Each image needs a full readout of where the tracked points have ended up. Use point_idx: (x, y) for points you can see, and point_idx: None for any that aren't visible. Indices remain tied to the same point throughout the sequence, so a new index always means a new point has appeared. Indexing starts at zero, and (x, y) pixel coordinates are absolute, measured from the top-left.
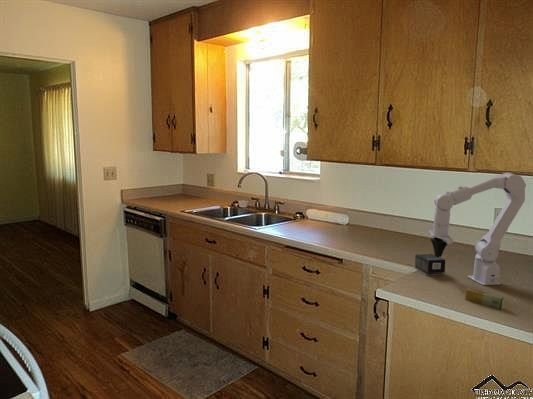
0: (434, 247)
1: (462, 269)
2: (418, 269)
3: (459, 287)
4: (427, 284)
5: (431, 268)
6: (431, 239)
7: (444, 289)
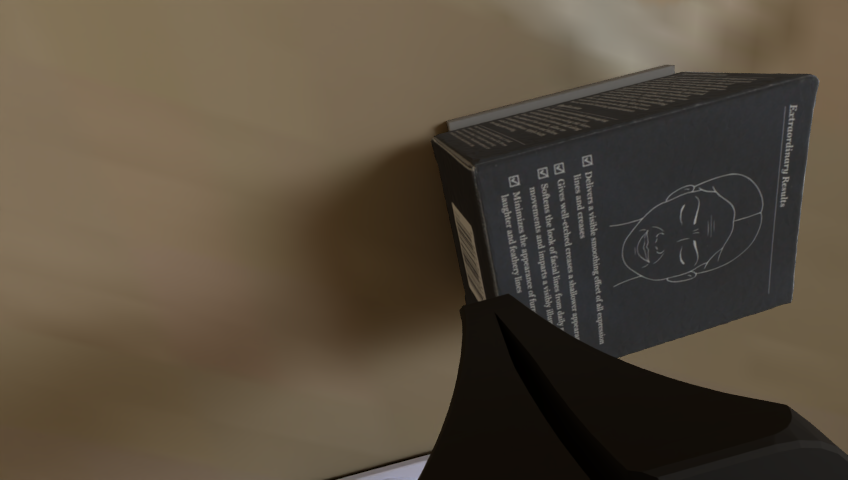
0: (558, 364)
1: None
2: (596, 84)
3: (173, 336)
4: (154, 51)
5: (451, 191)
6: (748, 449)
7: (57, 192)
